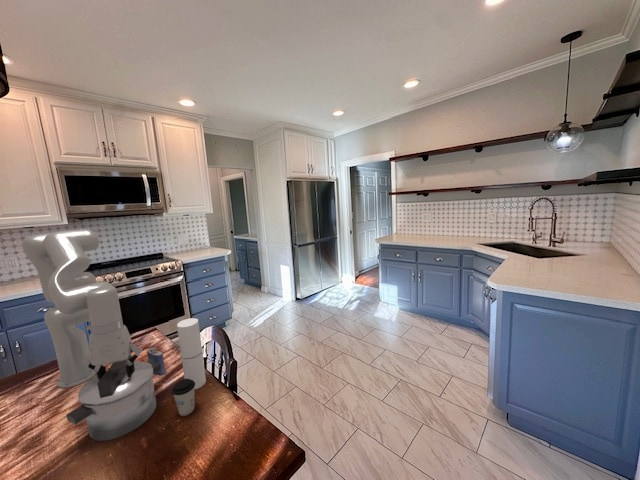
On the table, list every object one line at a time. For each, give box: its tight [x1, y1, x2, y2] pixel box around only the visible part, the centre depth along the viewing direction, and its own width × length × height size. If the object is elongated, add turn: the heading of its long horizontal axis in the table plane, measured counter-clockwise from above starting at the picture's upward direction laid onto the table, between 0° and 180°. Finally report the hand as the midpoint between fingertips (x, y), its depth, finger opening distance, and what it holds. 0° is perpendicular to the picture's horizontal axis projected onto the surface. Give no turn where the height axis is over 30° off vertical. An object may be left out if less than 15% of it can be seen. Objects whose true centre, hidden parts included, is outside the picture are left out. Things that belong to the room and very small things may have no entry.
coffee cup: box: [171, 378, 196, 417], centre depth 88 cm, size 7×7×10 cm
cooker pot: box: [65, 362, 161, 442], centre depth 87 cm, size 18×26×12 cm
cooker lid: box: [77, 353, 154, 406], centre depth 85 cm, size 19×19×6 cm
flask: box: [146, 346, 166, 376], centre depth 109 cm, size 9×3×11 cm, turn 61°
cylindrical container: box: [176, 317, 207, 390], centre depth 100 cm, size 7×7×25 cm
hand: (117, 377), depth 85 cm, fingers open, 6 cm apart
